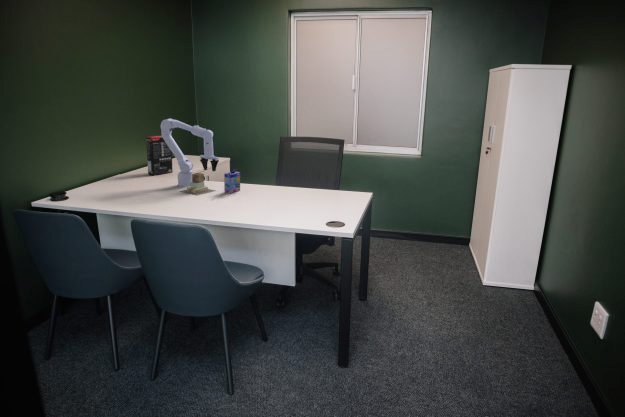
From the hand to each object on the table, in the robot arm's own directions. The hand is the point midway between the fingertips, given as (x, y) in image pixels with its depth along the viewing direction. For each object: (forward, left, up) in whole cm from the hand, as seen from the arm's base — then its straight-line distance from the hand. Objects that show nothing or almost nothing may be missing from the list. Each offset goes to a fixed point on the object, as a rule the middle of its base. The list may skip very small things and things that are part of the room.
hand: (209, 170), depth 285 cm
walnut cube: (+4, -14, -5) cm, 15 cm away
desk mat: (+5, -15, -10) cm, 19 cm away
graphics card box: (-56, +6, -11) cm, 58 cm away
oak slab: (+5, -15, -10) cm, 19 cm away
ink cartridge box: (+22, -2, -11) cm, 24 cm away
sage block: (+5, -15, -8) cm, 18 cm away
